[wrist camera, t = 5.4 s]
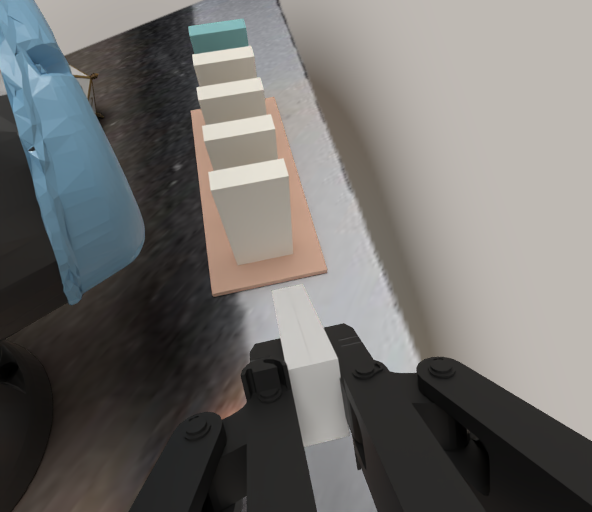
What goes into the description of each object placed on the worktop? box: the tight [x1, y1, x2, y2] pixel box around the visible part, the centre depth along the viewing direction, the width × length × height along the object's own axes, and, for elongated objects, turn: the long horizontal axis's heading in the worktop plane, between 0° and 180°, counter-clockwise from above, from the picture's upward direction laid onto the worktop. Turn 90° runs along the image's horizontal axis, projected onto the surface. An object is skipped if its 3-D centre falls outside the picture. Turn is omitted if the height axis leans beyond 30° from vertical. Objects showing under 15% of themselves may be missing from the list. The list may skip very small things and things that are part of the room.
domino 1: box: [188, 19, 248, 54], centre depth 35 cm, size 2×5×10 cm, turn 103°
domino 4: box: [202, 114, 278, 171], centre depth 29 cm, size 2×5×10 cm, turn 103°
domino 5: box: [208, 158, 293, 265], centre depth 27 cm, size 2×5×10 cm, turn 103°
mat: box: [191, 97, 327, 297], centre depth 36 cm, size 24×10×1 cm, turn 13°
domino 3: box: [197, 77, 267, 125], centre depth 31 cm, size 2×5×10 cm, turn 103°
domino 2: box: [192, 46, 257, 87], centre depth 33 cm, size 2×5×10 cm, turn 103°
